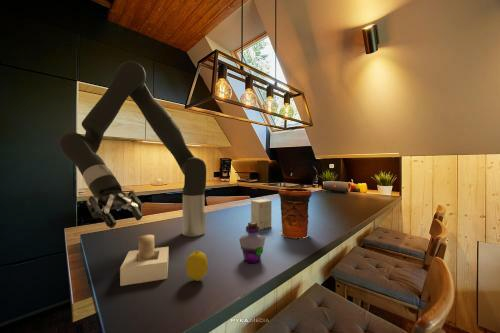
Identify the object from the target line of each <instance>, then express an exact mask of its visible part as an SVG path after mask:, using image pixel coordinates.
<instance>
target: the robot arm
mask: <svg viewBox="0 0 500 333" xmlns="http://www.w3.org/2000/svg"><path fill="white" fill-rule="evenodd" d="M146 79H147V73H146V71H145V68H144V67H143V65H141V64H140V63H139V62H136V61H134V60H126V61H124V62H122V63H121V64H120V65H119V67H118V70H117V71H116V74H115V75H114V79H113V80H112V81H111V83H110V85H109V86H108V88H107V89H106V91H105V92H104V93H103V95H102V96H101V97H100V98H99V100H98V101H97V102H96V103H95V104H94V106H93V107H92V108H91V110H90V111H89V112H88V114H86V115H85V117H84V118H83V120H82V122H81V127H82V128H83V129H84V131H85V134H84V135H82V134H80V133H79V132H74V131H73V132H72V131H70V132H67V133H64V134H63V135H62V136H61V138H60V139H59V147H60V149H61V151H62V153H63V154H64V156H66V158H68V159H69V160H70V161H71V162H72V163H73V164H74V165H75V166H76V167H77V169H78V171H79V173H80V174H81V176H82V177H83V180H84V182H85V184H86V186H87V187H88V189H89V191H90V192H91V194H92V195H93V196H92V195H91V196H89V197H88V199H87V200H86V202H85V205H86V206H87V209H88V211H89V212H90V214H91V217H92V218H93V219H97V218H101V219H102V220H103V221H104V223H105V225H106V226H107V227H108V228H110V229H113V228H115V226H116V225H117V221H116V220H115V218H114V216H113V215H112V214H111V213H110V210H115V209H123V210H128V211H129V212H131V214H132V215H133V217H134V219H135V221H141V220H142V218H143V213H142V211H141V210H140V206H141V205H142V201H141V200H140V199H139V197H138V196H137V195H136V193H135V192H134V191H133V190H131V191H129V192H126V193H125V192H123V190H122V186H121V184H120V182H119V181H118V179H117V178H116V176H115V175H114V173H113V172H112V170H110V168H109V167H108V166H107V165H106V163H105V162H104V160H103V158H102V157H100V155H99V154H97V152H99V148H100V146H101V145H102V141H103V139H104V138H103V137H104V134H105V133H106V131H107V130H108V128H109V127H110V126H111V124H112V123H113V121H115V118H116V117H117V115H118V113H120V110H121V108H122V107H123V105H124V103H125V102H126V100H127V99H128V97H129V98H130V99H131V100H132V101H133V102H134V103H135V104H136V105H137V106H136V107H138V109H139V110H140V113H142V114H141V115H143V117H144V119H146V120H145V121H146V122H147V123H148V125H149V126H150V128H151V129H152V130H153V132H154V133H155V135H156V136H157V138H158V139H159V140H160V142H161V143H162V144H163V145H164V147H165V148H166V149H167V150H168V151H169V153H170V154H171V155H172V157H173V158H174V160H175V161H176V163H177V165H178V167H179V168H180V171H181V172H182V174H183V175H184V184H183V187H182V229H181V231H182V236H184V237H192V238H193V237H199V236H202V235H205V234H206V212H205V191H206V187H207V186H206V185H207V164H206V163H205V161H204V160H203V159H202V158H200V157H195V155H194V154H193V153H192V152H191V150H190V149H189V147H188V146H187V143H186V142H185V139H184V137H183V134H182V131H181V129H180V127H179V125H178V124H177V122H176V121H175V119H174V117H172V115H171V114H170V112H169V111H168V110H167V109H166V108H165V107H164V106H163V105H161V104H160V103H159V102H158V101H157V99H155V98H154V96H153V95H152V94H151V92H150V90H149V88H148V87H147V85H146ZM99 205H101V206H102V209H101V208H100V206H99Z"/></svg>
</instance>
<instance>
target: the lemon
mask: <svg viewBox="0 0 500 333" xmlns="http://www.w3.org/2000/svg"><path fill="white" fill-rule="evenodd" d="M208 263H209V262H208V258H207V256H206V254H205V253H204V252H202V251H199V249H198V250H195V251H193V252H192V253H190V255H189V256H188V257H187V261H186V263H185V264H186V274H187V276H188V277H189V278H190V279H192V280H194V281H196V282H198V281H200V280H201V279H202V278H204V277H205V276H206V274H207V271H208V268H209V267H208V266H209V264H208Z"/></svg>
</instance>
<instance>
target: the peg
mask: <svg viewBox="0 0 500 333" xmlns="http://www.w3.org/2000/svg"><path fill="white" fill-rule="evenodd" d="M154 248H155V235H154V234H144V235H140V236H138V250H139V262H140V261H148V260H154Z"/></svg>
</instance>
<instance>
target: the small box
mask: <svg viewBox="0 0 500 333" xmlns="http://www.w3.org/2000/svg"><path fill="white" fill-rule="evenodd" d="M250 203H251V204H250V205H251V206H250V222H256V223H257V226H259V231H260V229H261V230H264V228H265V229H268V227H269V228H272V200H271V199H265V198H261V199H260V198H259V199H253V200H250Z"/></svg>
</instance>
